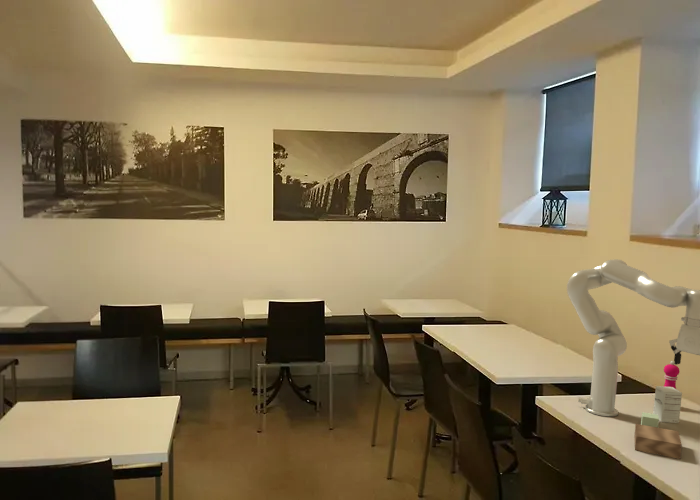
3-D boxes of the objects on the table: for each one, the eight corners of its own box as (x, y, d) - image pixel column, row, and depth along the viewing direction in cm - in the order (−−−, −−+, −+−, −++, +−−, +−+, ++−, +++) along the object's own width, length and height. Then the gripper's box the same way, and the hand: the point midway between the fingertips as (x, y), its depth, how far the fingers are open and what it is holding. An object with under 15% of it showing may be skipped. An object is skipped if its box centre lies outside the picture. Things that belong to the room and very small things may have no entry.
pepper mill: (680, 409, 261) (685, 363, 259) (663, 408, 261) (668, 362, 259) (672, 403, 268) (676, 359, 267) (655, 402, 268) (660, 358, 267)
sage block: (640, 434, 229) (642, 416, 228) (640, 429, 234) (642, 412, 233) (657, 437, 226) (658, 419, 226) (656, 432, 231) (658, 414, 231)
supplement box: (652, 415, 251) (655, 385, 250) (670, 416, 251) (673, 386, 250) (660, 422, 244) (663, 391, 243) (679, 423, 243) (682, 392, 242)
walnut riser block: (634, 450, 213) (636, 436, 212) (634, 436, 226) (635, 423, 225) (680, 459, 207) (681, 444, 207) (676, 444, 220) (678, 431, 220)
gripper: (667, 318, 233) (662, 362, 235) (715, 328, 219) (709, 375, 221) (677, 317, 237) (672, 360, 239) (725, 327, 223) (719, 373, 225)
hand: (690, 367), depth 230 cm, fingers open, 9 cm apart
